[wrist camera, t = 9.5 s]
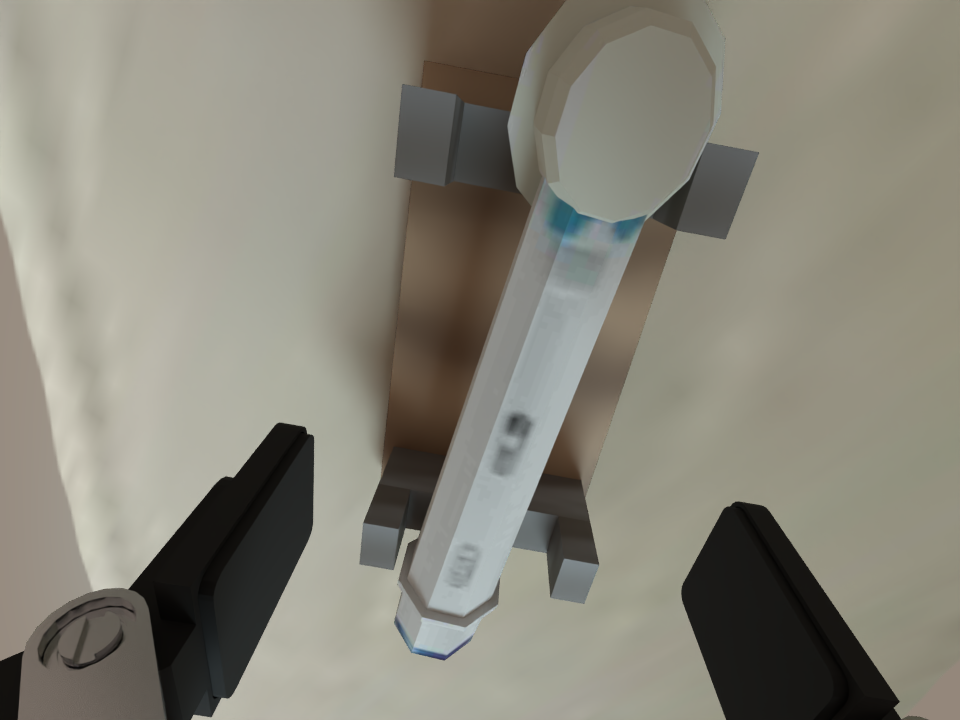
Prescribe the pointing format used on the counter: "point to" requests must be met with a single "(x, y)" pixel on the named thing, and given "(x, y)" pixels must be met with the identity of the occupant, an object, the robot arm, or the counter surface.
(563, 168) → the white elongated piece
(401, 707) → the counter surface
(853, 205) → the counter surface
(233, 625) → the robot arm
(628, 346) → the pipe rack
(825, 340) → the counter surface
